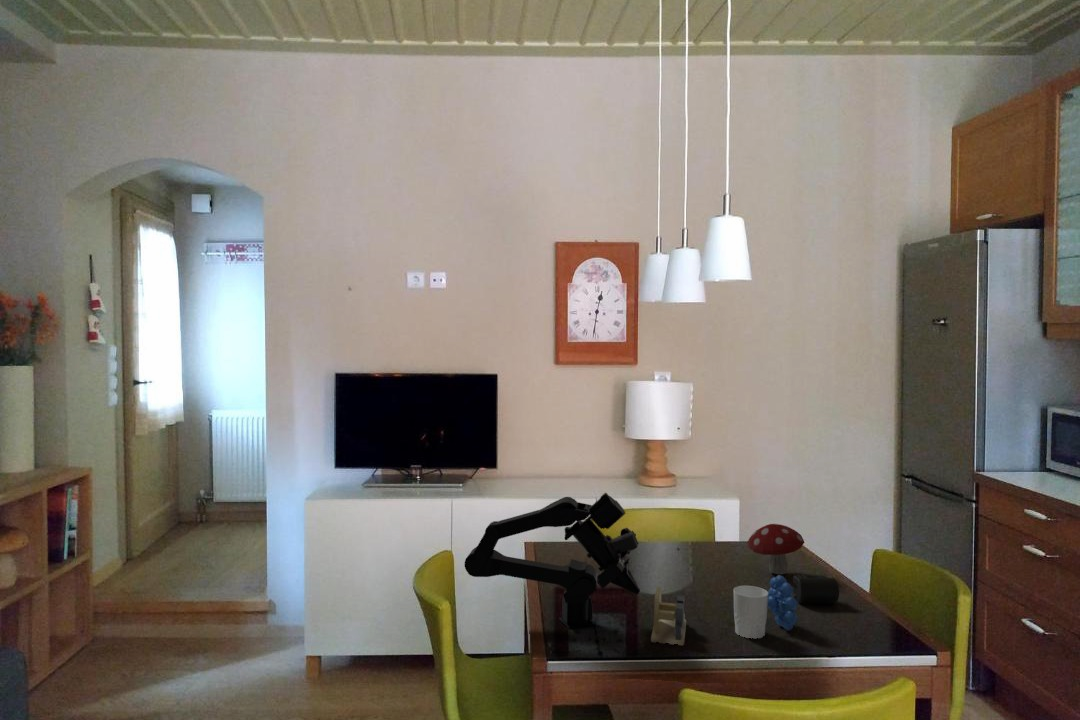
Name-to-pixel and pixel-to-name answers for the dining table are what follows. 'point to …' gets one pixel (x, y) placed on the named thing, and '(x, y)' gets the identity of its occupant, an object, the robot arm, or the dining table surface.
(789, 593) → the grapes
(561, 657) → the dining table surface
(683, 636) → the birch board
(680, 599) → the grey two-prong bracket
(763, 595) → the white cup
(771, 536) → the decorative mushroom
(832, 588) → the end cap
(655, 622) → the tan notched block
